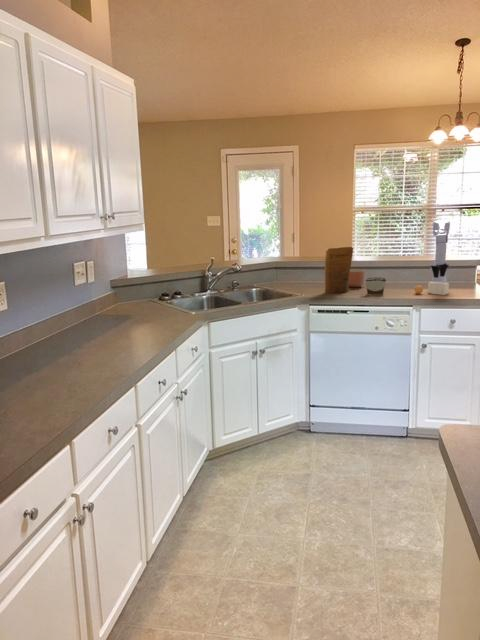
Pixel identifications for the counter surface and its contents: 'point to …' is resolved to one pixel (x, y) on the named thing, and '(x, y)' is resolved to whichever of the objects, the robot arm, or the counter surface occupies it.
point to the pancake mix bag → (337, 269)
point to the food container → (375, 285)
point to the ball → (418, 289)
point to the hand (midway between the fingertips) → (439, 277)
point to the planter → (356, 278)
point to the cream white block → (438, 288)
